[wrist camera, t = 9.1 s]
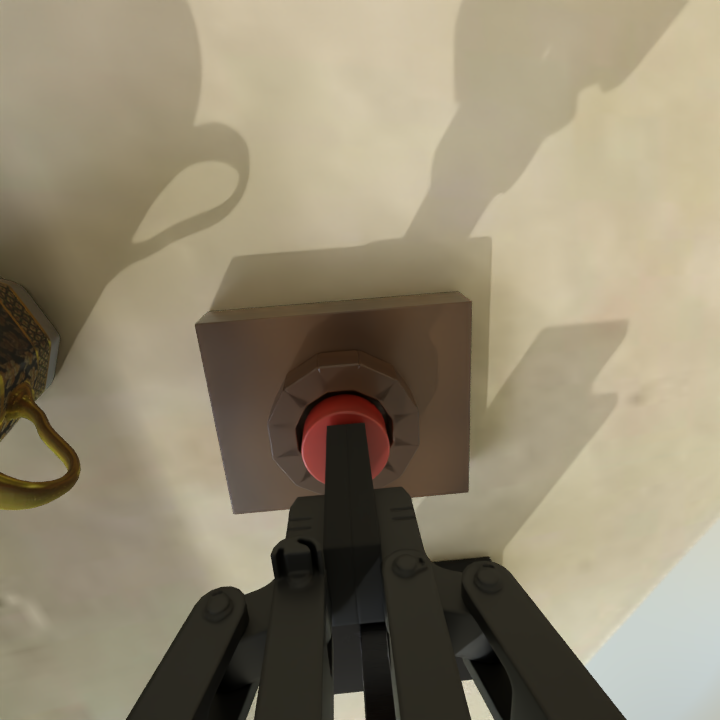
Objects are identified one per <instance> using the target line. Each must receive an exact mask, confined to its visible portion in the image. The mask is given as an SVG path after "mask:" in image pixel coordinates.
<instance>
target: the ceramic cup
mask: <svg viewBox="0 0 720 720" xmlns="http://www.w3.org/2000/svg"><path fill="white" fill-rule="evenodd" d="M59 341H60V336H59V334H58V332H57V331H56V329H55V328H54V327H53V325H52V324H51V323H50V321H49V320H48V319H47V317H46V316H45V315H44V313H43V312H42V311H41V309H40V308H39V307H38V305H37V304H36V303H35V301H34V300H33V299H32V298H31V296H30V295H29V294H28V292H27V291H26V290H25V289H24V288H23V287H22V286H21V285H19V284H17V283H14V282H11V281H8V280H5V279H1V278H0V442H1V441H2V439H3V438H4V437H5V436H6V435H7V433H8V432H9V431H10V430H11V429H12V428H13V426H14V425H15V424H16V423H17V422H18V420H19V419H20V418H21V417H23V418H27V419H28V420H30V421H31V422H33V423H34V425H35V426H36V429H37V431H38V434H39V436H40V438H41V439H42V440H43V442H44V443H45V444H46V445H47V446H48V447H49V448H50V449H51V450H52V451H53V453H54V454H55V455H56V456H57V457H58V458H59V459H60V460H61V461H62V462H63V463H64V465H65V466H66V467H67V470H68V472H67V473H66V474H65V475H64V476H63V477H61V478H59V479H56V480H53V481H46V482H29V481H22V480H18V479H15V478H13V477H10V476H7V475H5V474H3V473H1V472H0V510H25V509H30V508H35V507H38V506H42V505H44V504H47V503H49V502H51V501H53V500H55V499H57V498H59V497H60V496H62V495H63V494H65V493H66V492H68V491H69V490H70V489H71V488H72V487H73V486H74V485H75V483H76V482H77V480H78V478H79V474H80V470H81V469H80V462H79V458H78V456H77V454H76V452H75V451H74V449H73V448H72V447H71V446H70V445H69V444H68V443H67V442H66V441H65V440H64V439H63V438H62V437H61V436H60V435H59V434H58V433H57V432H56V431H55V430H54V429H53V428H52V427H51V425H50V423H49V421H48V419H47V417H46V415H45V413H44V412H43V411H42V410H41V409H40V408H39V407H38V406H37V404H36V403H35V401H36V400H37V399H38V397H39V396H40V395H41V394H42V393H43V392H44V391H45V390H46V389H47V388H48V387H49V386H50V385H51V383H52V381H53V379H54V374H55V368H56V361H57V354H58V348H59Z"/></svg>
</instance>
